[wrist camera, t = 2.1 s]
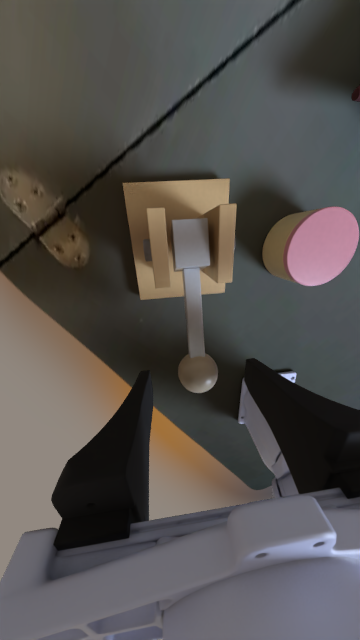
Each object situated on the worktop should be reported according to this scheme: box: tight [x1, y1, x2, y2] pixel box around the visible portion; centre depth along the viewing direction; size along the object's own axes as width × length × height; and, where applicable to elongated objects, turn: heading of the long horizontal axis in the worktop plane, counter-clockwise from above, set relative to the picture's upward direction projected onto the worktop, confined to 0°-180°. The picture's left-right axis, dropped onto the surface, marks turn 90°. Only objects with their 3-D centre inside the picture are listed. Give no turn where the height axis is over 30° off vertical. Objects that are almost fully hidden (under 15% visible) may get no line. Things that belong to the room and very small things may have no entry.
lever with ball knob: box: [170, 218, 218, 393], centre depth 13 cm, size 12×3×3 cm, turn 4°
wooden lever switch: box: [123, 179, 237, 300], centre depth 15 cm, size 10×9×8 cm
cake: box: [262, 207, 359, 286], centre depth 18 cm, size 6×6×4 cm
